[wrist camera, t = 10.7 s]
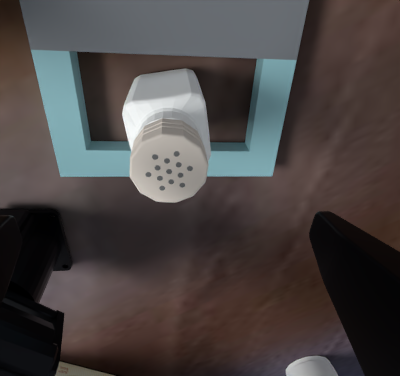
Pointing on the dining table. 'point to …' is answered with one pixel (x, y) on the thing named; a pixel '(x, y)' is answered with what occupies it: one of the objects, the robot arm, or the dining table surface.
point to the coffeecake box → (77, 371)
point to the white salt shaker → (167, 135)
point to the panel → (163, 45)
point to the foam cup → (311, 367)
